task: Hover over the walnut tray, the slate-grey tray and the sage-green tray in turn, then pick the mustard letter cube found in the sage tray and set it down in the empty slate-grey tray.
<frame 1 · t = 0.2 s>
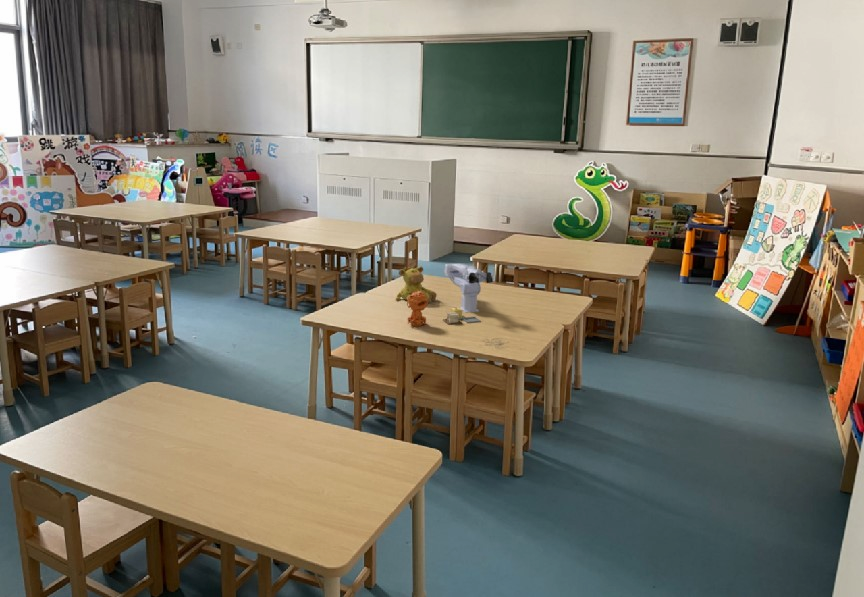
hand: (485, 280, 343), 21 cm above the table, tool horizontal, fingers open, 7 cm apart
tray sage: (456, 317, 353), on the table
letter cube: (456, 317, 353), resting on tray sage
green plush bear: (415, 300, 385), on the table
maple block: (452, 322, 344), resting on tray walnut
tray walnut: (452, 322, 345), on the table
tray slate: (471, 320, 348), on the table
orange toy figurine: (417, 325, 340), on the table
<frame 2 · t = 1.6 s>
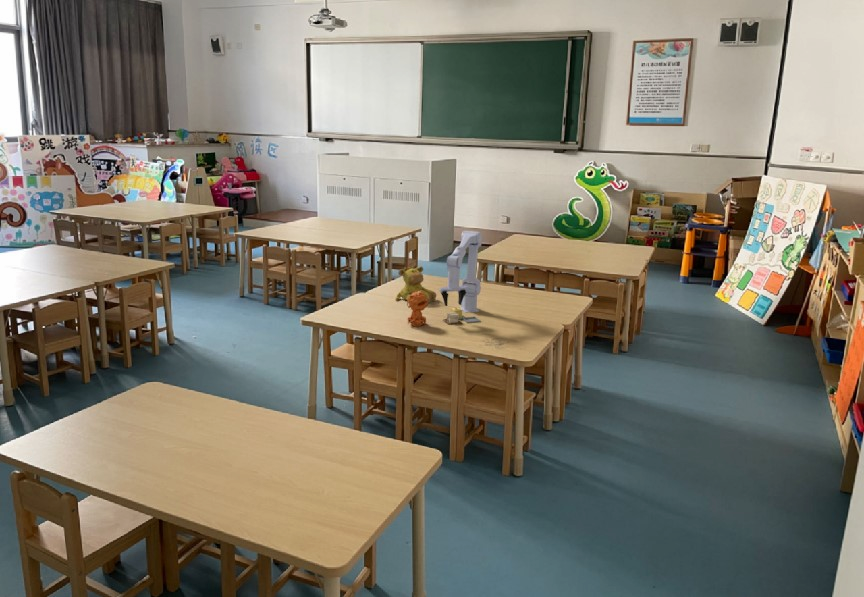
hand: (452, 304, 342), 9 cm above the table, tool pointing down, fingers open, 7 cm apart
nothing on the table moved.
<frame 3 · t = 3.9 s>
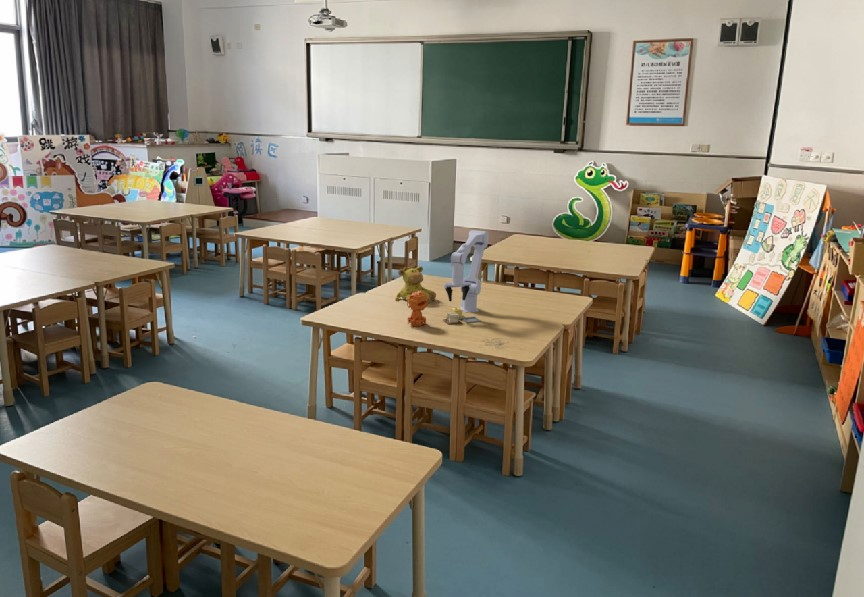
hand: (457, 300, 351), 9 cm above the table, tool pointing down, fingers open, 7 cm apart
nothing on the table moved.
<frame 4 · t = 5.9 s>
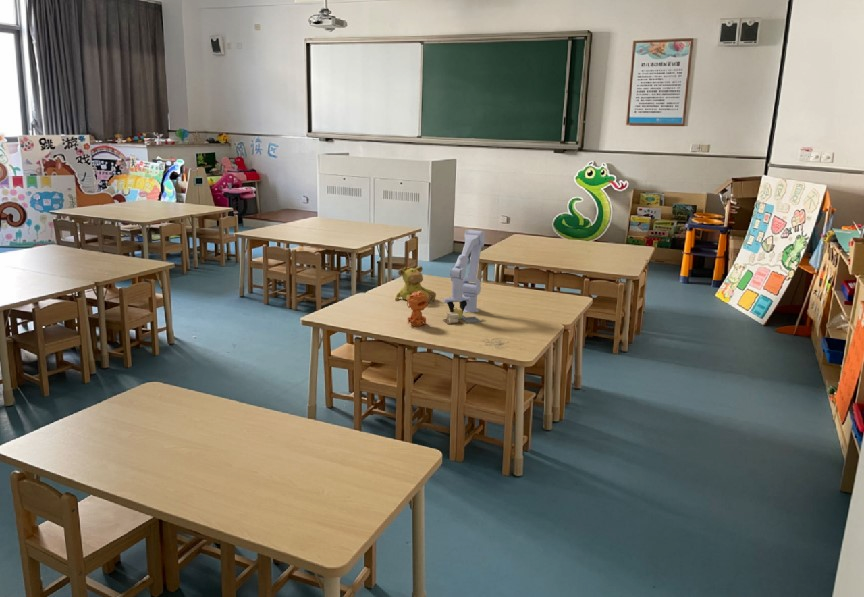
hand: (456, 315, 353), 1 cm above the table, tool pointing down, fingers closed on letter cube, 4 cm apart
letter cube: (456, 317, 353), resting on tray sage, touching gripper
everything else where it was.
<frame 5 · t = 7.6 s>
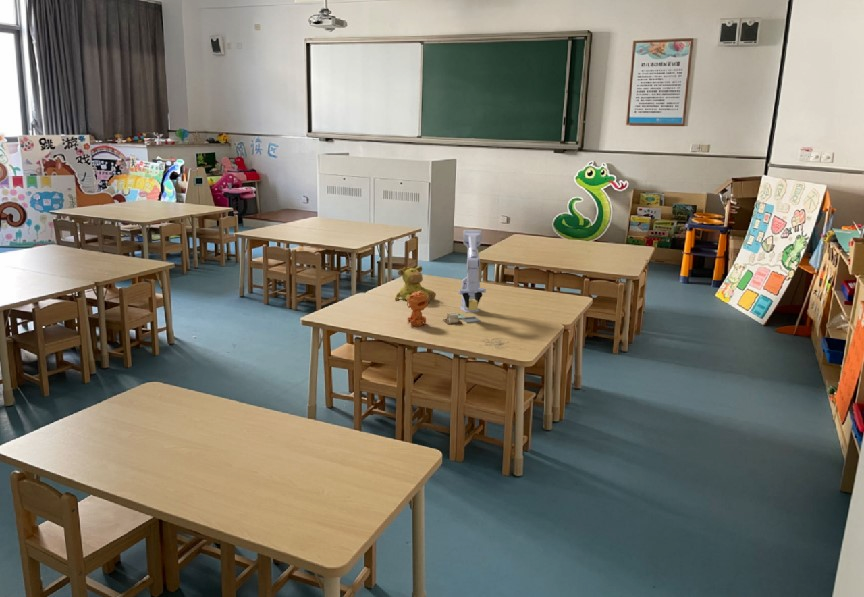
hand: (471, 306, 346), 8 cm above the table, tool pointing down, fingers closed on letter cube, 4 cm apart
letter cube: (471, 308, 346), point 7 cm above the table, touching gripper
everything else where it was.
when the fingers open (3 cm above the table, at t = 9.2 s): letter cube drops 1 cm, resting on tray slate.
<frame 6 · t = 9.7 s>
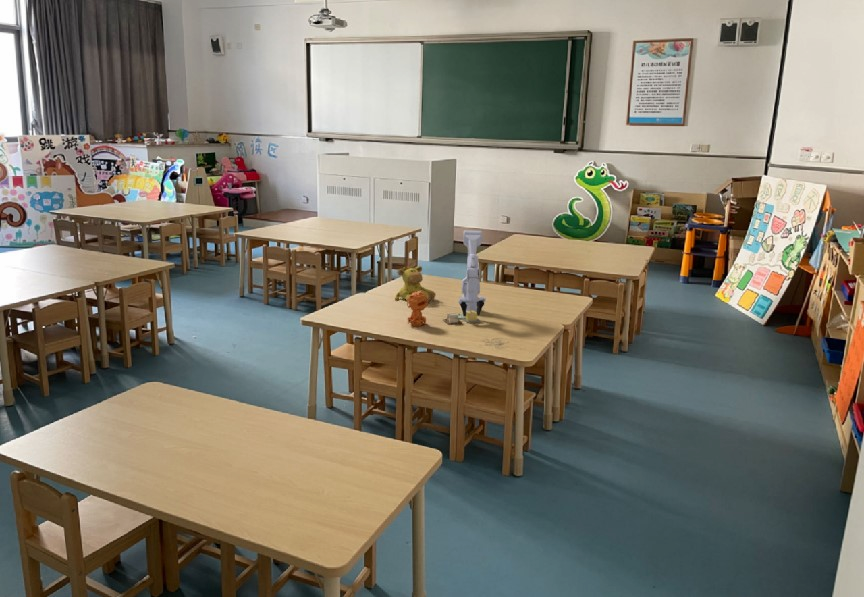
hand: (471, 315, 347), 3 cm above the table, tool pointing down, fingers open, 7 cm apart
letter cube: (471, 320, 348), resting on tray slate
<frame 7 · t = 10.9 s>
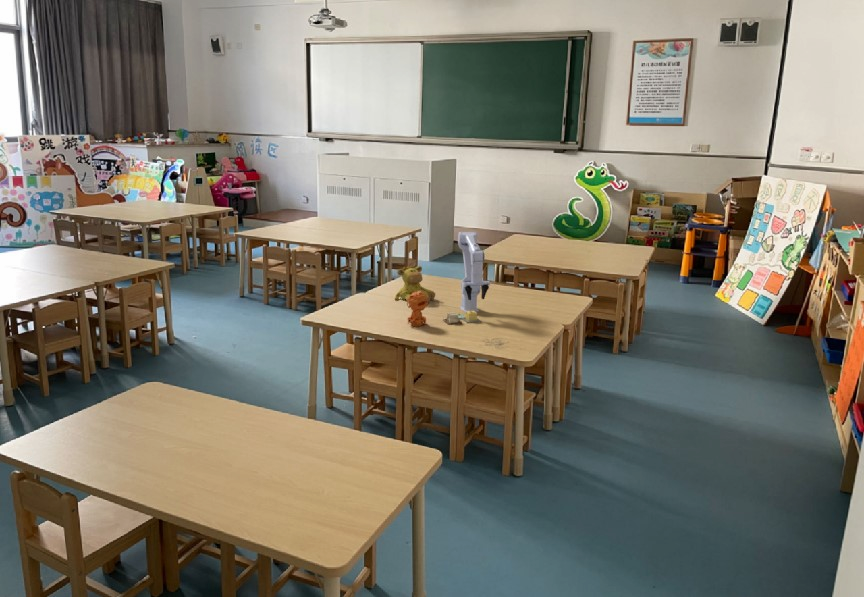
hand: (476, 299, 352), 10 cm above the table, tool pointing down, fingers open, 7 cm apart
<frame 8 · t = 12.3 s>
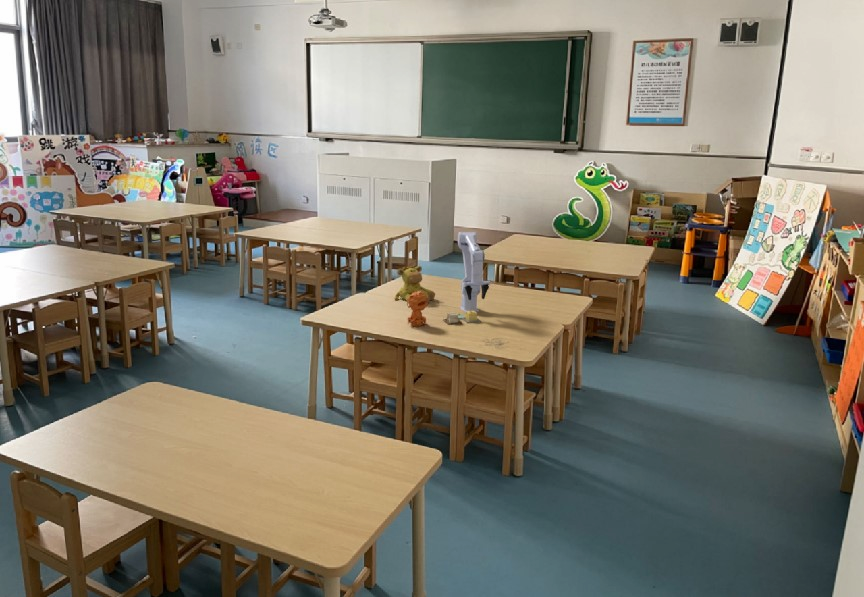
hand: (476, 299, 352), 10 cm above the table, tool pointing down, fingers open, 7 cm apart
at the end: letter cube 0.1 cm from the tray slate (horizontally); letter cube resting on tray slate; the gripper is holding nothing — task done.
